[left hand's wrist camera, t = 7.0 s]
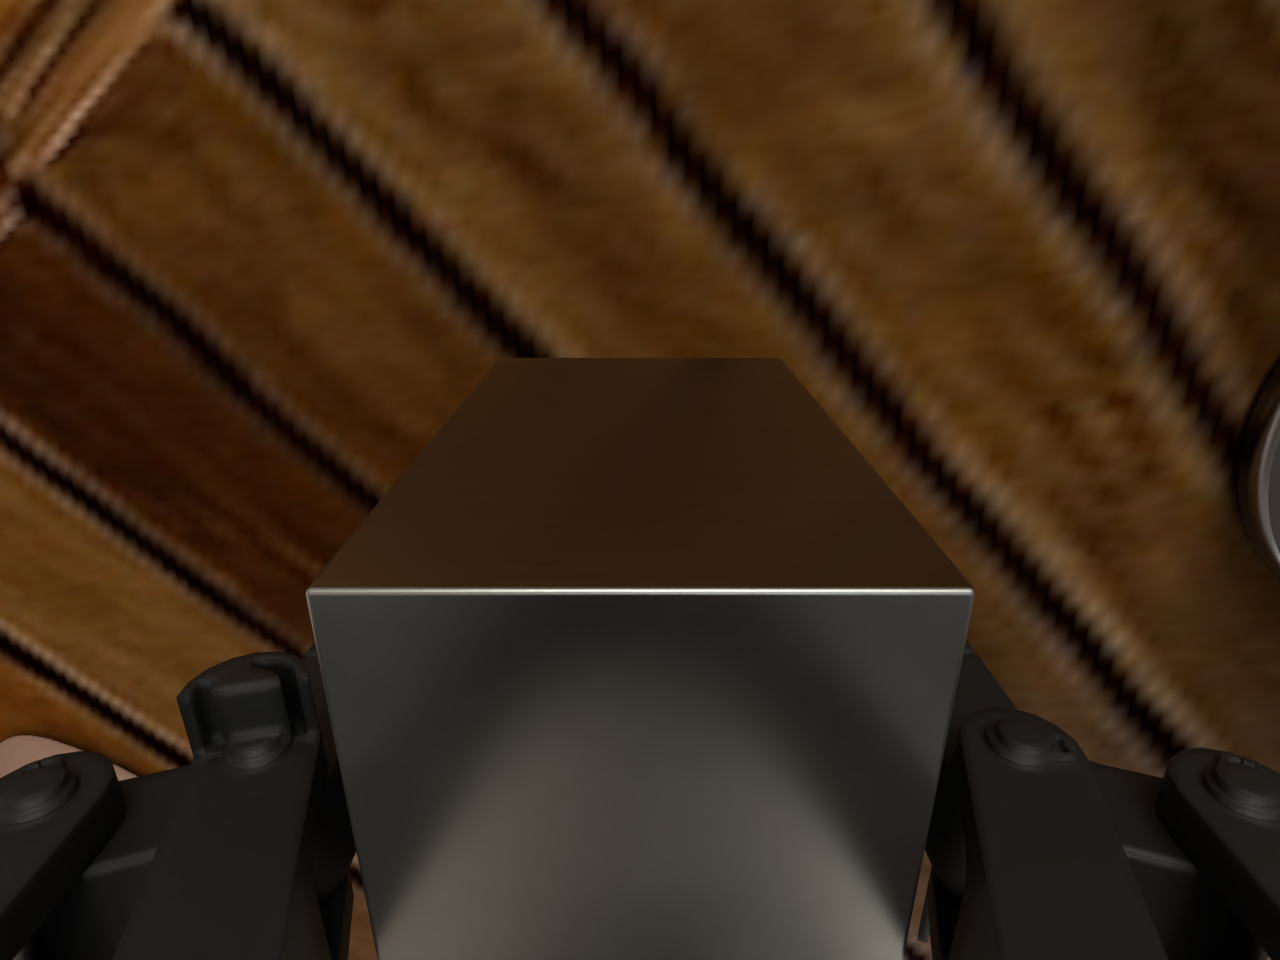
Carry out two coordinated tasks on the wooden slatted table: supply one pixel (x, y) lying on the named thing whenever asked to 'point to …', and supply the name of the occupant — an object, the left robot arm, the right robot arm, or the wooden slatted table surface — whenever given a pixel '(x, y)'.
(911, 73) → the wooden slatted table surface
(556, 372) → the bar
